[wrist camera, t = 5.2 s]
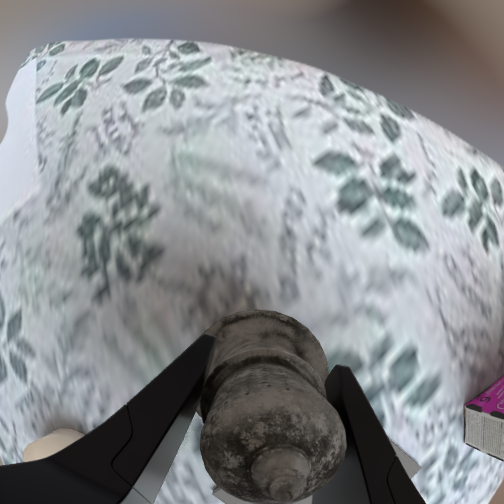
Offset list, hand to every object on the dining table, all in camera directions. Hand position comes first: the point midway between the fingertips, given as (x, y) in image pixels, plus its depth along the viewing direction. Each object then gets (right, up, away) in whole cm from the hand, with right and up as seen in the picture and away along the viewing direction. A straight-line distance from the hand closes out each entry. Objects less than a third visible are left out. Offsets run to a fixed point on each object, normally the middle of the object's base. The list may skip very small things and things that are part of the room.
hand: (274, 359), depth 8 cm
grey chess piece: (-1, -3, +6) cm, 7 cm away
